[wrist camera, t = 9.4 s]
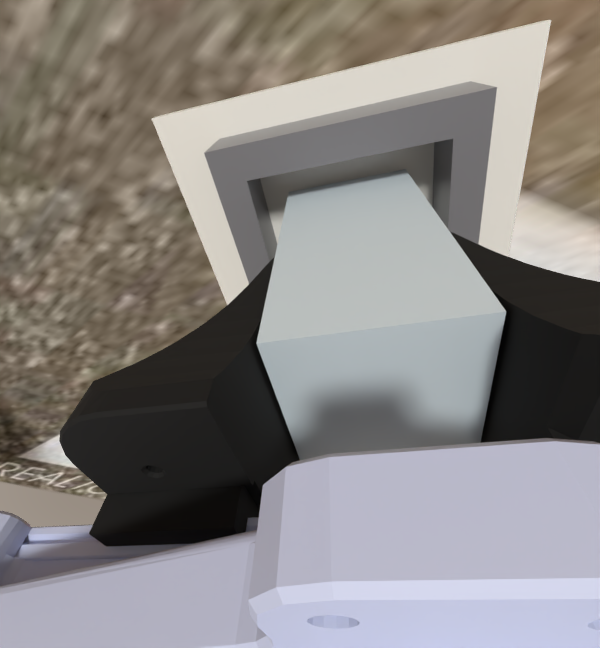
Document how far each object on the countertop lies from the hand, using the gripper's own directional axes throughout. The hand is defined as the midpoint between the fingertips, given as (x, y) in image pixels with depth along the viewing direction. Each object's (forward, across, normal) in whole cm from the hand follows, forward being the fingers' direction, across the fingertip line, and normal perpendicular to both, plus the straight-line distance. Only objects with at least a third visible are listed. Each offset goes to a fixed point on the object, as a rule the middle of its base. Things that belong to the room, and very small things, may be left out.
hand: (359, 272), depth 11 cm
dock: (+4, 0, 0) cm, 4 cm away
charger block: (+3, 0, 0) cm, 3 cm away
